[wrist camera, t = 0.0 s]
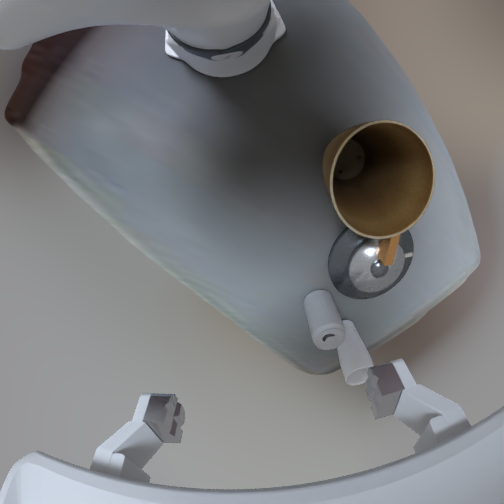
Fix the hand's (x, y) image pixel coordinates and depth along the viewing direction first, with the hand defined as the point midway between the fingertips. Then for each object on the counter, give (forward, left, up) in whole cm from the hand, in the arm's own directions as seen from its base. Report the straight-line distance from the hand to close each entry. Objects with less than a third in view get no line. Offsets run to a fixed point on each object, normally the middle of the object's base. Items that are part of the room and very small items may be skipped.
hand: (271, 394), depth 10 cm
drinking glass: (+39, +15, -39) cm, 57 cm away
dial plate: (+21, +21, -39) cm, 49 cm away
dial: (+19, +21, -37) cm, 47 cm away
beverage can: (+29, +9, -39) cm, 49 cm away
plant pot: (0, +16, -39) cm, 42 cm away
